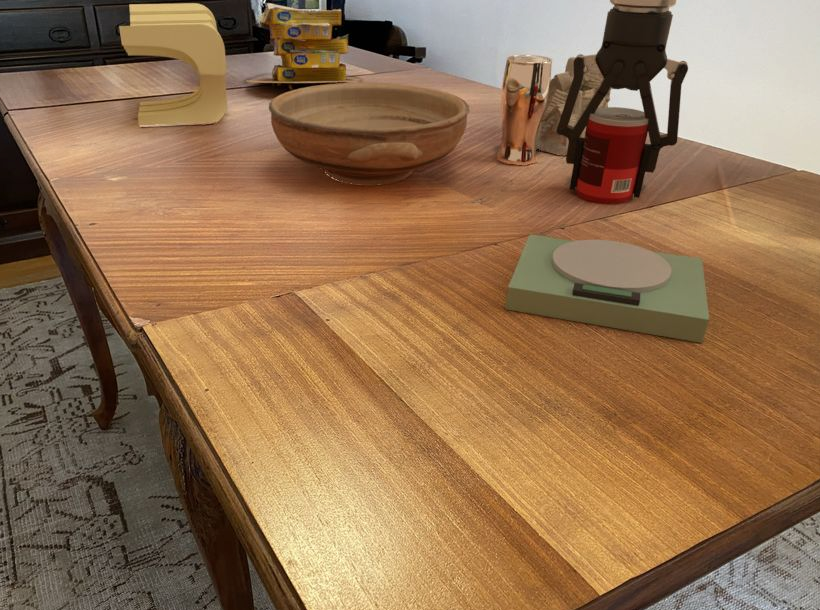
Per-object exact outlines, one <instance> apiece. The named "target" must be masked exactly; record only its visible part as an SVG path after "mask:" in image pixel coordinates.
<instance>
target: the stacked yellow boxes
mask: <svg viewBox="0 0 820 610" xmlns="http://www.w3.org/2000/svg"><path fill="white" fill-rule="evenodd" d="M342 17H343V13H342V9H341V8H338V9H336V8H334V9H332V10H329V9H328V10H326V9H321V10H320V9H319V10H316V9H313V10H312V9H299V8H295V7H290V6H285V5H280V4H275V3H271V2H267V3H266V7H265V9H264V12H262V13H261V14H259V16H258V17H257V19H256V20H257V21H258V22H259V23H261V24H265V25H268V26H269V33H270V34H269V36H270V37H269V38H270V39H272V40H274V47H273V53H272V54H273V55H272V56H275V57H280V59H281V64H277V65H274V66H273V68H272V71H271V77H272V78H273V79H271V78H257V79H249V80H246V82H248V83H262V84H263V83H266V84H267V83H268V84H271V85H272V87H274V88H275V86H276V85H275V84H277V86H278V87H279V86H281V84H288V88H289V91H293V90H296V89H295V88H293V85H292V84H318V83H319V84H321V83H338V82H339V83H348V82H360V81H362V79H360V78H352V77H351V78H350V77H347V66H346V64H344V63H340V62H341V55H346V54H349V51H348V49H349V48H348V47H349V46H348V45H349V34H346V35H341V36H337V37H336V38H333V37H332V35H333V27H336V26H342V20H343V19H342ZM334 30H337V28H335V29H334Z"/></svg>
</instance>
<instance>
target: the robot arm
mask: <svg viewBox="0 0 820 610" xmlns="http://www.w3.org/2000/svg"><path fill="white" fill-rule="evenodd" d="M609 3H610V4H611V5H612V6H613V7H612V8H610V9H609V10H608V11H607V15H606V19H605V25H604V32H603V37H602V42H601V46H600V48H599V50H598V51H597V53H596V54H588V55H584V54H580V53H578V54H577V55H576V58H575V60H574V63H573V64H574V78H573V81H572V84H571V87H570V90H569V93H568V96H567V99H566V102H565V106H564V109H563V112H562V115H561V118H560V121H559V124H558V127H557V133H558V134H559V135H563V136H565V137H567V138H568V140H569V144H568V150H567V155H566V156H565V157H566V158H565V162H566V164H568V165H569V164H570V165H572V170H571V177H570V182H569V188H568V189H569V190H571V191H576V183H577V178H578V172H579V166H580V160H581V155H582V149H583V143H584V138H581V137H580V135H581V133H582V132H583V130H584V129H585V127H586V126H587V124H588V121H589V117H590V114H594V113H595V111H596V110H597V108H598V107H599V105H600V103H601V102H602V100H603V99H604V97H605V96H606V94H607V93H608V91H609V90H610V88H612V89H611V90H622V89H626V90H629V91H632V92H633V91H635V92H639V95H640V99H641V104H642V109H643V112H644V114H645V119H648V126H647V128H648V133H647V134H648V138H649V142H650V143H645V146H644V151H643V155H642V159H641V164H640V168H639V173H638V177H637V181H636V186H635V190H634V194H633V198H636V199H637V198H638V199H640V196H641V192H642V188H643V183H644V179H645V174H646V173H654V172H655V170H656V167H657V162H658V160H659V159H658V158H659V155H660V151H661V150H662V149H663V148H664V147H668V146H670V147H672V146H675V145H677V143H678V138H679V137H678V136H679V123H680V110H681V99H682V98H681V97H682V95H681V94H682V84H683V83H684V80H685V78H686V76H687V73H688V71H689V65H688V62H687V61H686V60H681V61H677V60H674V59H671V58H670V59H669V58H668V56H667V52H666V50H667V49H666V48H667V44H668V40H669V35H670V30H671V26H672V22H673V17H674V14H673V12H672V11H671V10H670V8H673V7H674V6H675V5H677V0H609ZM593 64H597V66H598V68H599V70H600V72H601V74H602V76H603V78H604V79H603V81H602V82H601V84H600V86H599V87H598V89H597V91H596V92H595V94H594V95H593V97H592V99H591V100H590V102H589V103H588V105H587V107H586V108H585V110H584V112H583V113H582V115H581V116H580V118H579V120H578V121H577V123H576V124H575V126H574V127H572V126H570V125H568V124H569V121H570V118H571V115H572V112H573V109H574V106H575V103H576V100H577V97H578V94H579V91H580V88H581V85H582V82H583V79H584V75H585V74H586V73H588V72H589V71H590V69H591V66H592V65H593ZM664 69H665V70H666V71H667V73H666V76H667V79H668V80H670V86H669V100H668V112H667V113H668V117H667V129H666V133H663V134H661V132H660V131H661V130H660V127H659V122H658V116H657V112H656V107H655V106H656V105H655V101H654V97H653V92H652V86H651V82H652V81H653V80H654V79H655V77H657V75H658V74H660V72H662V70H664Z"/></svg>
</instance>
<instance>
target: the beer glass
mask: <svg viewBox="0 0 820 610" xmlns="http://www.w3.org/2000/svg"><path fill="white" fill-rule="evenodd" d="M552 64H553V59H552V58H550V57H548V56H543V55H535V54H515V55H514V54H513V55H509V56H507V57H506V63H505V68H504V72H503V78H502V85H501V97H500V99H501V101H500V103H501V104H500V105H501V106H500V107H501V124H502V125H501V126H502V127H501V128H502V129H501V130H502V133H501V141H500V145H499V148H498V151H497V154H496V160H497V161H498V160H499V161H498V162H500V161H501V162H500V163H502V162H504V163H503V164H505V163H509V164H517V165H516V166H519V165H522V164H523V165H522V166H525V165H524V164H530V165H532V164H531V163H533V164H535V163H536V162H537V149H536V139H537V134H538V130H539V126H540V123H541V120H542V117H543V114H544V111H545V108H546V104H547V100H548V95H549V89H550V81H551V79H552ZM535 161H536V162H535ZM534 162H535V163H534ZM509 164H508V165H509Z"/></svg>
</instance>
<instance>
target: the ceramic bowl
mask: <svg viewBox="0 0 820 610" xmlns="http://www.w3.org/2000/svg"><path fill="white" fill-rule="evenodd" d="M268 110H269V112H270V121H271V127H272V130H273V132H274V135H275V137H276V138H277V140H278V142H279V144H280V145H281V146H282V147H283V148H284V150H285V151H286V152H288V153H289V154H290V155H291V156H292V157H294V158H296V159H297V160H299V161H301V162H303V163H305V164H307V165H309V166H312V167H315V168H318V169H321V170H323V171H324V170H325V172H326V174H328V175H329V176H330V177H333V178H334V179H337V180H339V181H343V182H347V183H346V184H348V183H352V184H351V185H354V184H361V185H360V186H379V185H378V184H385V185H390V184H389V183H391V184H395V183H394V182H396V183H399V182H402V181H404V180H406V179H408V178H409V177H410V176H411V174H412V172H413V171H416V170H419V169H422V168H426V167H429V166H431V165H433V164H436V163H437V162H439V161H441V160H442V159H444V158H445V157H446V156H448V155H450V153H452V151H454V150H455V148H456V147H457V146H458V144H459V143H460V141H461V140H462V138H463V136H464V134H465V131H466V129H467V125H468V124H467V123H468V115H469V113H470V105H469V104H468V102H467V101H465V100H464V99H463V98H461V97H460V96H457V95H455V94H452V93H450V92H446V91H443V90H439V89H434V88H430V87H424V86H419V85H411V84H401V83H389V82H354V81H350V82H349V81H348V82H339V83H338V82H337V83H328V84H327V83H326V84H320V85H319V84H318V85H311V86H306V87H300V88H297V89H295V90H294V89H293V91H290V90H289V91H286V92H283V93H281V94H279V95H277V96H275V97H274V98H272V100H270V102H269V104H268ZM325 172H324V173H325ZM326 174H325V175H326ZM330 177H329V178H330ZM407 177H408V178H407ZM403 179H404V180H403ZM401 180H402V181H401ZM339 181H338V182H339ZM398 181H399V182H398ZM343 182H342V183H343Z"/></svg>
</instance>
